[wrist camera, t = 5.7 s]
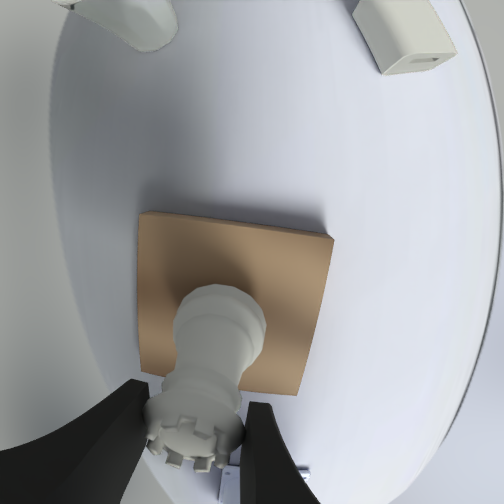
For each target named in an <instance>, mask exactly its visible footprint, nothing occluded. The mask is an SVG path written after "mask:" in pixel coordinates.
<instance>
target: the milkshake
mask: <svg viewBox="0 0 504 504" xmlns="http://www.w3.org/2000/svg"><path fill="white" fill-rule="evenodd" d="M51 1H53V2H54V3H57V4H58V5H60V6H62V7H64V8H66V9H68V10H70V11H72V12H74V13H76V14H78V15H80V16H82V17H84V18H86V19H88V20H90V21H92V22H94V23H96V24H98V25H100V26H101V27H103V28H105V29H106V30H108V31H109V32H111V33H113V34H114V35H116V36H117V37H119V38H120V39H121V40H123V41H124V42H126V43H127V44H129V45H130V46H132V47H133V48H134V49H136V50H137V51H139V52H150V51H157V50H158V49H160V48H161V47H163V46H165V45H166V44H168V43H170V42H171V40H172V39H173V37H174V35H175V34H176V32H177V31H178V23H177V17H176V14H175V12H174V9H173V7H172V4H171V2H170V0H51Z"/></svg>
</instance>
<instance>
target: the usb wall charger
mask: <svg viewBox="0 0 504 504" xmlns="http://www.w3.org/2000/svg"><path fill="white" fill-rule="evenodd" d="M352 16H353V18H354V20H355V21H356V23H357V25H358V27H359V29H360V31H361V32H362V34H363V36H364V38H365V40H366V42H367V44H368V46H369V48H370V50H371V52H372V54H373V56H374V58H375V60H376V63H377V65H378V67H379V69H380V71H381V74H382V75H383V76H389V75H397V74H405V73H414V72H424V71H428V70H431V69H434V68H435V67H437V66H439V65H440V64H442V63H444V62H446V61H447V60H449V59H451V58H453V57H455V56H456V55H457V54H458V52H457V50H456V48H455V46H454V44H453V42H452V40H451V38H450V36H449V34H448V33H447V31H446V29H445V27H444V25H443V23H442V22H441V20H440V18H439V16H438V15H437V13H436V11H435V10H434V8H433V6H432V5H431V3H430V2H429V0H360V1H359V3H358V5H357V7H356V8H355V10H354V12H353V14H352Z"/></svg>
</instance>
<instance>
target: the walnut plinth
mask: <svg viewBox="0 0 504 504" xmlns="http://www.w3.org/2000/svg"><path fill="white" fill-rule="evenodd" d="M333 245H334V239H333V238H332V237H331V236H330V235H328V234H323V233H317V232H310V231H303V230H296V229H289V228H282V227H275V226H268V225H261V224H253V223H246V222H238V221H231V220H223V219H215V218H207V217H199V216H190V215H182V214H173V213H164V212H155V211H148V212H145V213H141V214H139V228H138V254H137V307H138V333H139V350H140V363H141V372H145V373H149V374H154V375H158V376H162V377H166V375H167V374H168V373H170V372H172V371H174V369H175V365H176V360H177V355H178V353H177V350H176V345H175V343H174V341H173V320H174V318H175V316H176V314H177V310H178V308H179V306H180V304H181V302H182V300H183V299H184V297H186V296H187V295H188V294H190V293H191V292H192V291H194V290H195V289H196V288H199V287H203V286H208V285H212V284H219V285H226V286H233V287H236V288H237V289H239V290H241V291H243V292H245V293H247V294H248V295H250V296H251V297H252V298H253V299H254V300H255V302H256V303H257V304H258V305H259V306H260V307H261V309H262V311H263V314H264V318H265V321H266V331H265V337H264V343H263V348H262V351H261V353H260V354H259V355H258V357H257V358H256V359H255V361H254V362H253V363H252V365H250V366H249V367H247V369H246V370H245V371H244V372H243V373H242V375H241V378H240V381H239V384H238V389H239V390H242V391H250V392H259V393H269V394H280V395H293V396H297V393H298V390H299V387H300V383H301V380H302V376H303V373H304V369H305V366H306V362H307V358H308V355H309V351H310V347H311V343H312V339H313V335H314V331H315V327H316V323H317V319H318V315H319V311H320V307H321V302H322V298H323V293H324V289H325V284H326V280H327V275H328V270H329V265H330V260H331V255H332V250H333Z"/></svg>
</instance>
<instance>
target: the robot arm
mask: <svg viewBox="0 0 504 504" xmlns="http://www.w3.org/2000/svg"><path fill="white" fill-rule="evenodd" d="M148 399H150V397H149V387H148V383H146V382H142V381H138V380H135V379H130V380H128V381H127V382H126V383H124V384H123V385H122V386H120V387H119V388H118V389H117V390H115V391H114V392H113V393H111V394H110V395H109V396H108V397H106V398H105V399H104V400H102V401H101V402H100V403H98V404H97V405H95V406H94V407H92V408H91V409H90V410H88V411H87V412H85V413H84V414H82V415H81V416H79V417H78V418H76V419H74V420H73V421H71V422H69V423H68V424H66V425H64V426H63V427H61V428H59V429H57V430H55V431H54V432H51V433H49V434H47V435H45V436H43V437H41V438H38V439H36V440H33V441H31V442H29V443H26V444H23V445H20V446H17V447H14V448H11V449H6V450H2V451H0V504H120V501H121V499H122V496H123V494H124V491H125V489H126V487H127V485H128V483H129V481H130V478H131V476H132V473H133V472H134V470H135V467H136V465H137V463H138V461H139V459H140V457H141V455H142V452H143V450H144V448H145V446H146V442H147V439H148V438H145V437H144V436H145V434H146V431H147V428H146V426H145V424H144V420H143V414H142V409H143V407H144V405H145V404H146V402H147V400H148ZM245 429H246V433H245V438H244V442H243V443H242V447H241V457H240V467H238V466H229V465H226V466H225V467H224V468H223V470H222V478H221V485H220V493H219V500H218V504H320V502H319V501H318V500H317V498H316V497H315V495H314V494H313V493H312V491H311V490H310V488H309V487H308V485H307V484H306V482H307V480H308V479H309V477H310V471H308V470H298V469H297V467H296V465H295V463H294V462H293V460H292V458H291V456H290V454H289V451H288V449H287V447H286V445H285V443H284V441H283V438H282V436H281V434H280V431H279V428H278V426H277V423H276V420H275V417H274V413H273V410H272V406H271V405H270V404H269V403H260V402H251V401H250V402H249V407H248V413H247V418H246V423H245Z"/></svg>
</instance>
